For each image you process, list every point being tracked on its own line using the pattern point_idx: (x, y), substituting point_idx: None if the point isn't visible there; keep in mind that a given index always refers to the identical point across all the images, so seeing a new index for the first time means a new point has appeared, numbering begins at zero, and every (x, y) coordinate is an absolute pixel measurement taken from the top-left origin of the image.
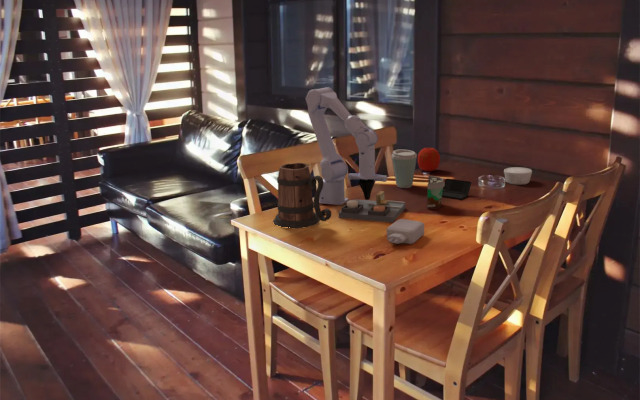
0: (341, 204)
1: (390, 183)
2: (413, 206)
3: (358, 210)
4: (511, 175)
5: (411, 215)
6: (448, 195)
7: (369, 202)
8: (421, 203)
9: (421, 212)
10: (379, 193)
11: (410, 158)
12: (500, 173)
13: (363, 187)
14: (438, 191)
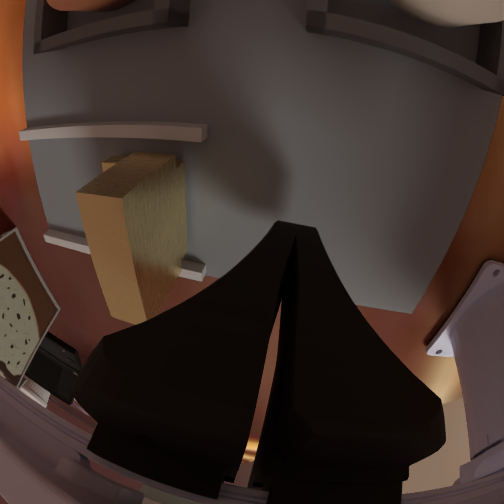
0: (487, 262)
1: (252, 443)
2: (62, 255)
3: None
4: (24, 384)
5: (15, 116)
6: (44, 339)
7: None
8: (63, 291)
9: (8, 176)
10: (113, 254)
11: (143, 499)
12: (80, 413)
13: (334, 337)
14: None
